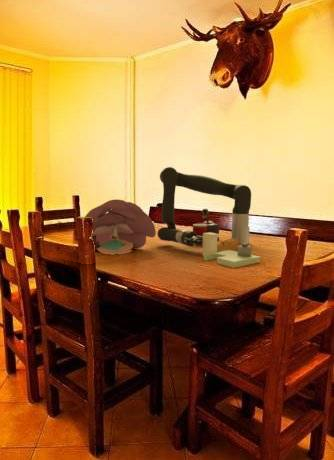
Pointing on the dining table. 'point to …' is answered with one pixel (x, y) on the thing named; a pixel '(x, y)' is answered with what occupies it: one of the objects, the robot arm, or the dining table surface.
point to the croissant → (228, 245)
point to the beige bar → (209, 243)
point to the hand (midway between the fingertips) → (208, 242)
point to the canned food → (200, 229)
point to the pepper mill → (210, 223)
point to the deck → (234, 257)
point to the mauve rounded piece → (120, 227)
